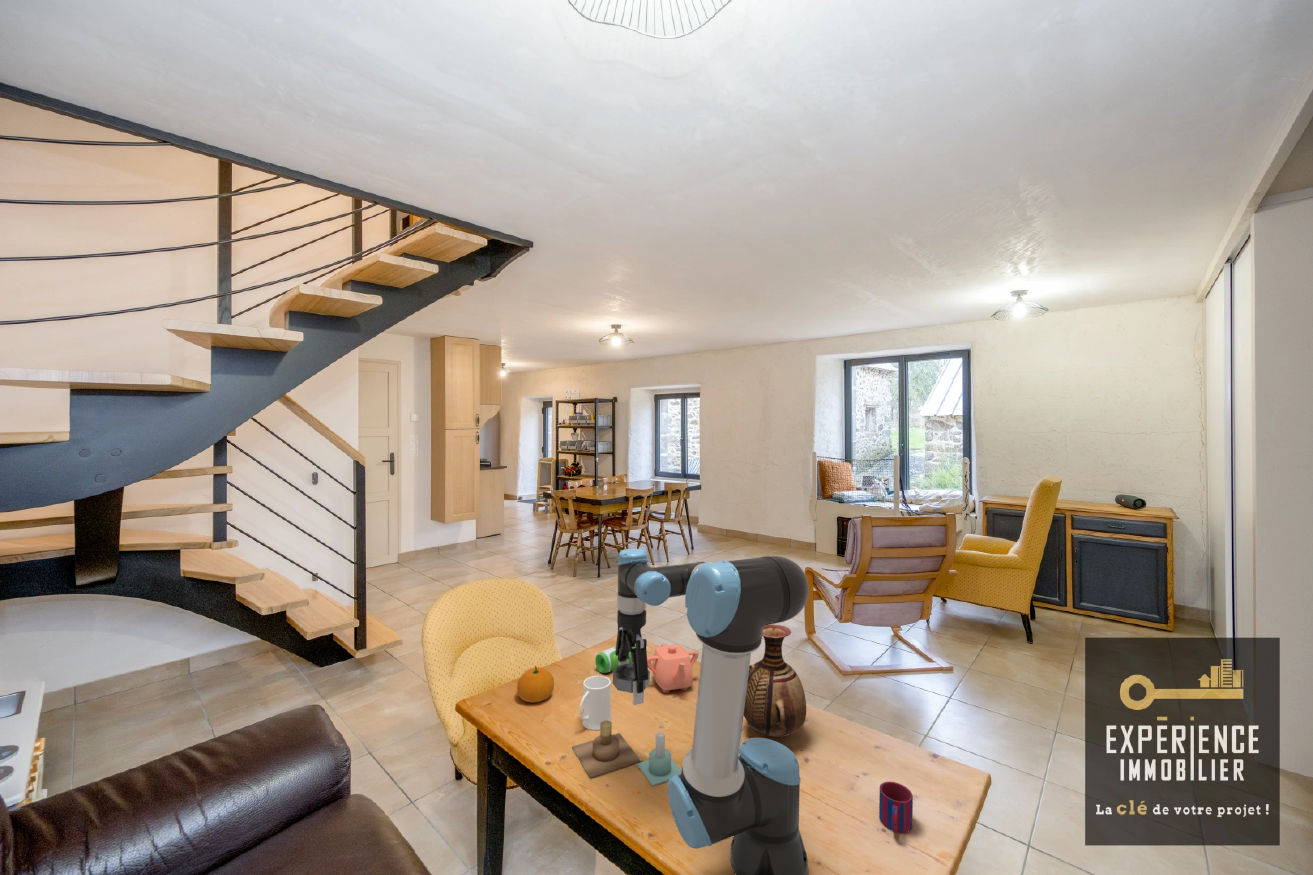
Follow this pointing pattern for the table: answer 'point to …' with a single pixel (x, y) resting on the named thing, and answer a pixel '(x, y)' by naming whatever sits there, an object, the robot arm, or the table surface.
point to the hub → (605, 752)
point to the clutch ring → (626, 678)
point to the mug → (595, 702)
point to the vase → (774, 690)
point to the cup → (896, 807)
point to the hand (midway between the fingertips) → (630, 693)
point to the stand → (659, 763)
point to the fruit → (535, 685)
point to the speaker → (608, 660)
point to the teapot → (672, 667)
